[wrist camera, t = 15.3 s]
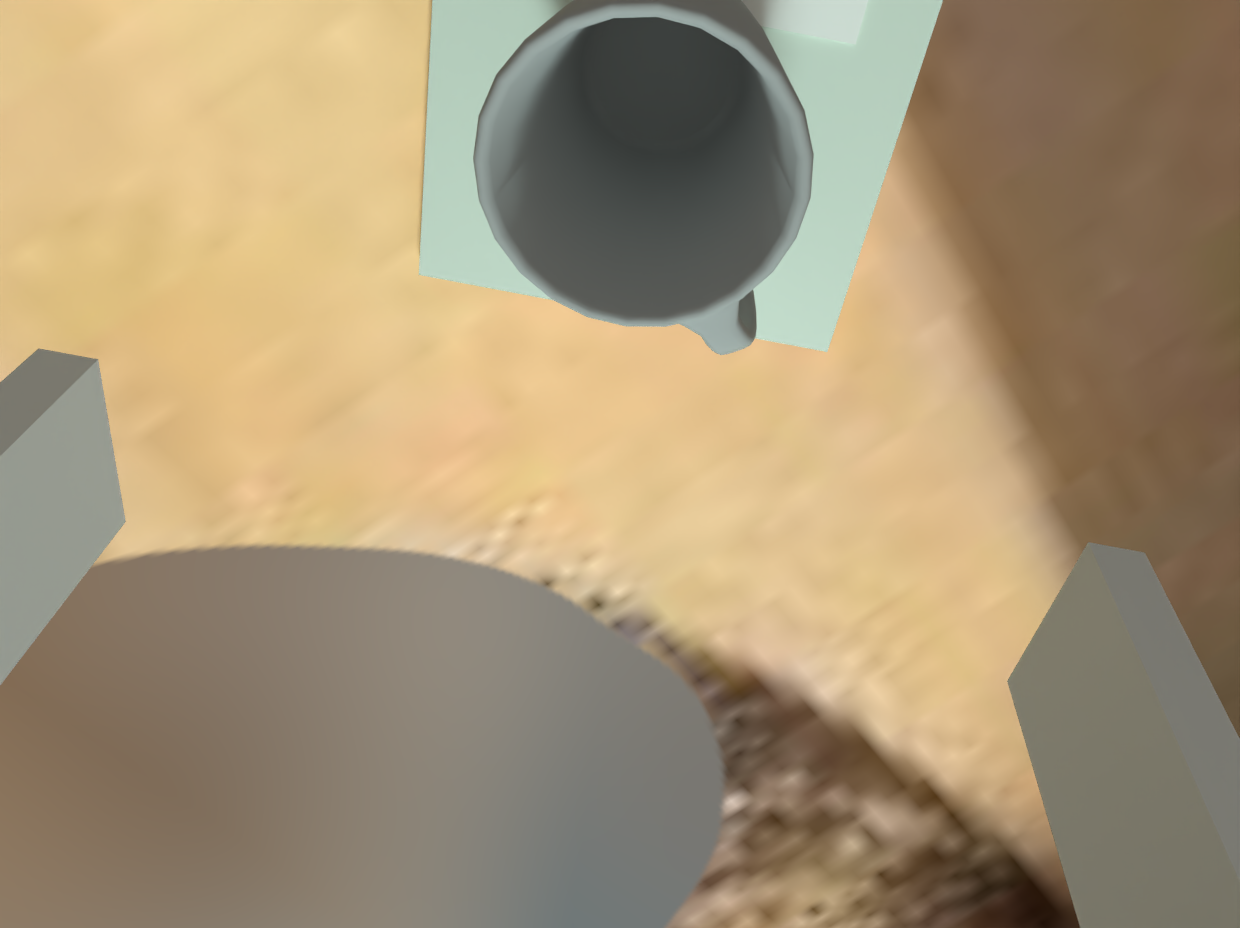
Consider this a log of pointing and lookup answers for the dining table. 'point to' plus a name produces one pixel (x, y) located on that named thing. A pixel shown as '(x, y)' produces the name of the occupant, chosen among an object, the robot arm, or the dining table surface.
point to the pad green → (822, 78)
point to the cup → (647, 163)
